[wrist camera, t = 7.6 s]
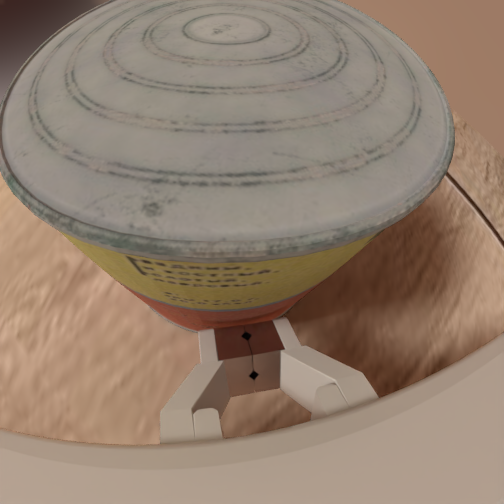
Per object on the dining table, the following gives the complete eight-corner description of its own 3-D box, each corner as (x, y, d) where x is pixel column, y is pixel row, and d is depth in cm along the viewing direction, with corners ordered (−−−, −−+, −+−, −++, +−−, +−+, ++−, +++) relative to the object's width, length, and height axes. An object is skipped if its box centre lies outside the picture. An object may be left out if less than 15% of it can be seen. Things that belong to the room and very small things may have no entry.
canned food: (333, 321, 15) (522, 232, 4) (124, 341, 14) (-67, 278, 2) (298, 153, 19) (354, -6, 8) (131, 163, 17) (81, -1, 6)
